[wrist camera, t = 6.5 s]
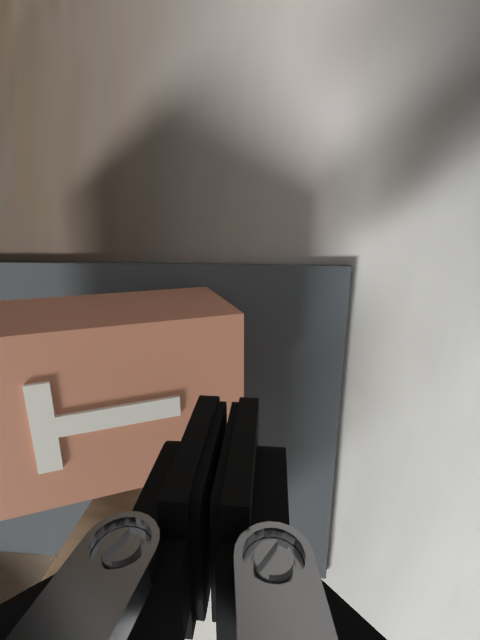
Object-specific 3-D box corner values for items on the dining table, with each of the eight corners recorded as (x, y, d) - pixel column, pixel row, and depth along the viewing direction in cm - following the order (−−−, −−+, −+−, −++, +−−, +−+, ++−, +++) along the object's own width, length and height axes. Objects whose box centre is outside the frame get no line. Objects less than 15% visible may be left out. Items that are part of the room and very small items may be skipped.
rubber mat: (350, 265, 17) (351, 266, 16) (324, 572, 22) (325, 578, 21) (-61, 260, 18) (-68, 261, 18) (4, 545, 23) (0, 550, 23)
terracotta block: (245, 314, 12) (-132, 351, 9) (245, 465, 14) (-74, 542, 11) (206, 286, 17) (-53, 304, 14) (209, 402, 19) (-21, 442, 15)
